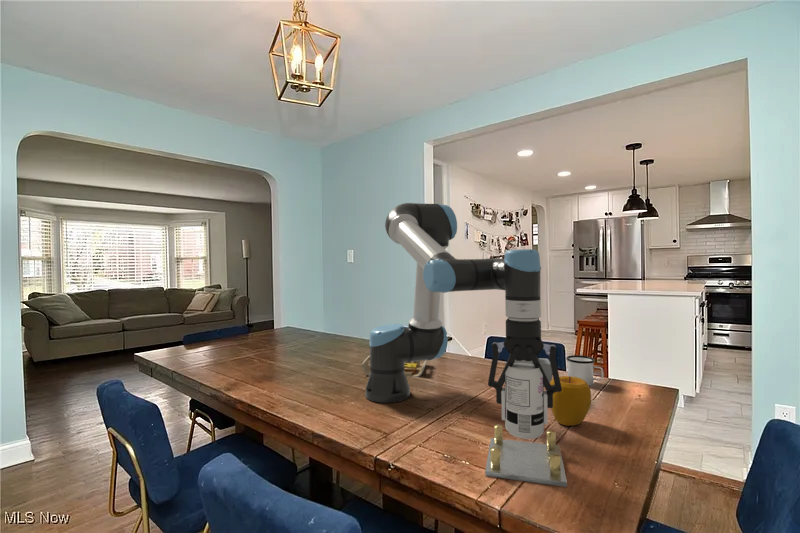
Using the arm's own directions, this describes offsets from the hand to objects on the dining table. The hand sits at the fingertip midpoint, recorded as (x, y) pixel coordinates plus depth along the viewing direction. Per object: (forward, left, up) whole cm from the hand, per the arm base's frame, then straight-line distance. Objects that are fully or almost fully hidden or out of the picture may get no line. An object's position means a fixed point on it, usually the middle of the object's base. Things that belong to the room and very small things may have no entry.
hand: (524, 419), depth 89 cm
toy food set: (-50, +64, -10) cm, 82 cm away
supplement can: (0, 0, -3) cm, 3 cm away
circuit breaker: (+3, +47, -10) cm, 48 cm away
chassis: (0, 0, -10) cm, 10 cm away
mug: (+21, +63, -10) cm, 67 cm away
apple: (+12, +25, -10) cm, 29 cm away
